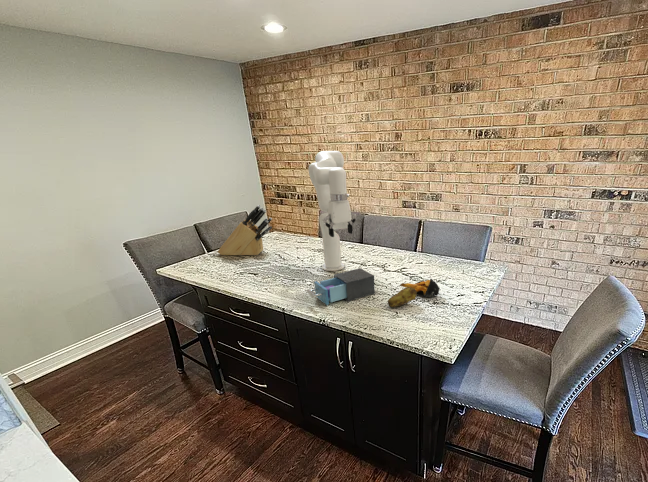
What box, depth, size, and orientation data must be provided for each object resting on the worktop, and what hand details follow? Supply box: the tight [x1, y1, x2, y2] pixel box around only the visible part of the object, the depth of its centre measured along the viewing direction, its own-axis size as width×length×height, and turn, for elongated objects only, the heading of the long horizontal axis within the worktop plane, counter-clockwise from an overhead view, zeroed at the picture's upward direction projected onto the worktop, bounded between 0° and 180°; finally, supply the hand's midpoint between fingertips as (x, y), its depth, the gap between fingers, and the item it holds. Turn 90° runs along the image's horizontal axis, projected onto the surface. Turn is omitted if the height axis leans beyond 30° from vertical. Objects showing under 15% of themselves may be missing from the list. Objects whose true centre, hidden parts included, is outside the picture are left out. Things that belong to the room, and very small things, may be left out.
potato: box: [387, 287, 417, 308], centre depth 146 cm, size 8×13×8 cm, turn 93°
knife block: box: [217, 204, 273, 256], centre depth 216 cm, size 11×35×31 cm, turn 89°
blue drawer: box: [306, 277, 347, 306], centre depth 152 cm, size 18×11×7 cm, turn 125°
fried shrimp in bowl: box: [399, 278, 441, 298], centre depth 156 cm, size 9×11×18 cm
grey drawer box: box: [333, 267, 376, 302], centre depth 159 cm, size 15×13×9 cm
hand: (341, 234), depth 158 cm, fingers open, 9 cm apart
